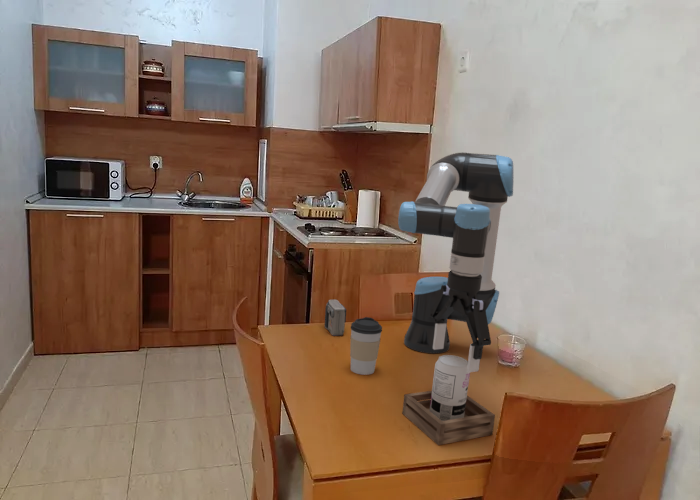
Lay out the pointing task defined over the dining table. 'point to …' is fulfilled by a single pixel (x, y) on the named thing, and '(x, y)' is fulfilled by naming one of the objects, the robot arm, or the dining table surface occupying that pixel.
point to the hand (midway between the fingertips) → (454, 359)
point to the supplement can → (449, 387)
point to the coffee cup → (364, 345)
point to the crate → (448, 431)
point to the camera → (335, 317)
